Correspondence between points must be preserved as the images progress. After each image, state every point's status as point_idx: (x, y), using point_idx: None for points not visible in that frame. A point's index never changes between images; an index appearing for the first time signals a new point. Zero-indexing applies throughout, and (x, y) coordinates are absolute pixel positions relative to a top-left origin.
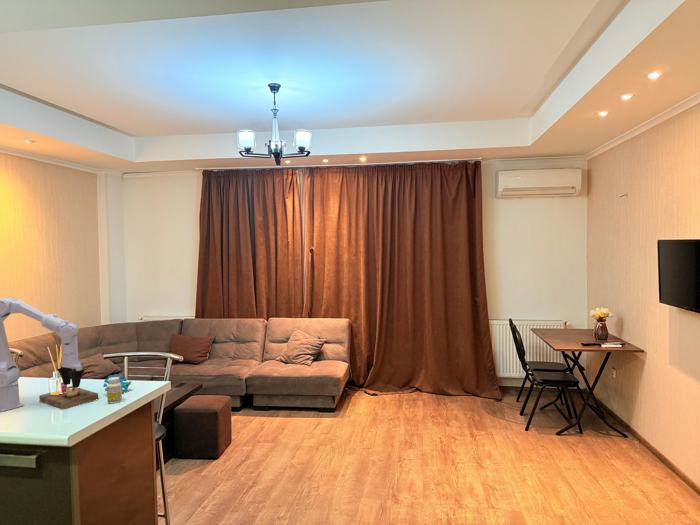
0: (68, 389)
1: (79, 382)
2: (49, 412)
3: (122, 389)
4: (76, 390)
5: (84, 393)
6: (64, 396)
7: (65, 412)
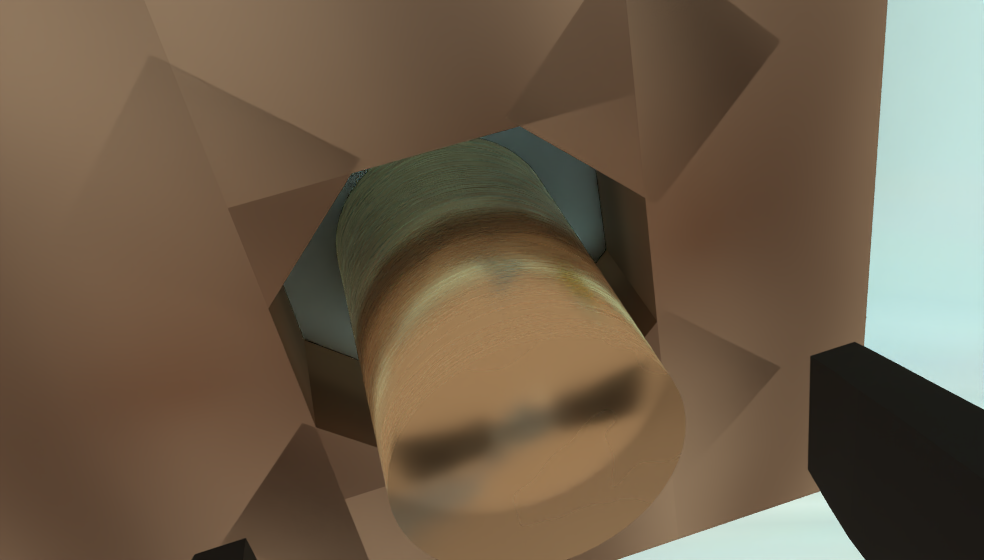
0: (614, 514)
1: (972, 419)
2: (745, 537)
3: None
4: (622, 311)
5: (538, 47)
6: (374, 441)
7: (957, 379)
